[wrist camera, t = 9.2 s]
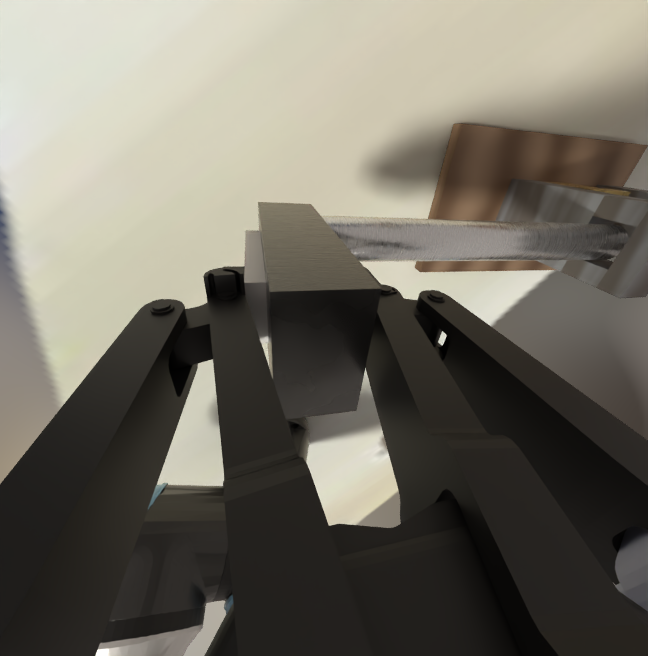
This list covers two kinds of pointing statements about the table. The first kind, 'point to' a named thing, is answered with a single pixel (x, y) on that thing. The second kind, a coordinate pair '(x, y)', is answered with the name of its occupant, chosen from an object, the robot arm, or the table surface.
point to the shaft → (373, 285)
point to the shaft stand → (545, 197)
